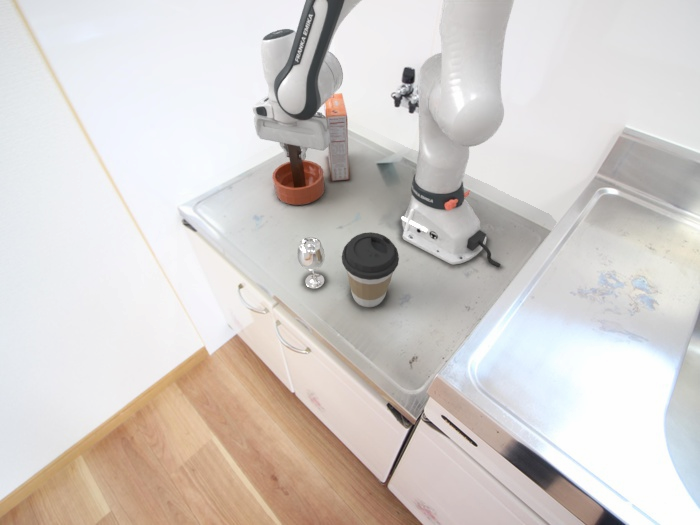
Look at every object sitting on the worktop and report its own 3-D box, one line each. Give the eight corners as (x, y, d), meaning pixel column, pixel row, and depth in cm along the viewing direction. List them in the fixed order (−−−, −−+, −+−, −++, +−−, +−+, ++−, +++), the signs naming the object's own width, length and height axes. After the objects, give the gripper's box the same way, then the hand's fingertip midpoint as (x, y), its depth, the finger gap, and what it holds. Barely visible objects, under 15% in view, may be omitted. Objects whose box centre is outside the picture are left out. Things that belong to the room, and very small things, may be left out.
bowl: (334, 192, 102) (333, 175, 98) (293, 213, 96) (290, 196, 92) (306, 171, 110) (304, 154, 105) (267, 189, 104) (263, 172, 99)
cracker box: (327, 157, 115) (322, 93, 99) (345, 156, 115) (343, 92, 100) (330, 181, 106) (325, 115, 90) (349, 180, 106) (348, 113, 90)
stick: (306, 186, 103) (299, 136, 91) (302, 191, 101) (295, 141, 89) (298, 184, 103) (290, 134, 91) (294, 189, 102) (286, 139, 90)
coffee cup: (404, 300, 76) (412, 254, 65) (361, 324, 72) (362, 280, 61) (374, 267, 82) (377, 221, 71) (334, 288, 78) (330, 242, 67)
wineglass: (299, 276, 81) (292, 240, 72) (322, 268, 82) (318, 232, 73) (307, 294, 77) (300, 258, 68) (330, 286, 79) (327, 250, 70)
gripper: (332, 108, 84) (334, 158, 94) (259, 96, 89) (269, 145, 99) (322, 119, 80) (325, 170, 90) (246, 107, 85) (258, 156, 95)
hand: (295, 157), depth 95 cm, fingers closed on stick, 2 cm apart
